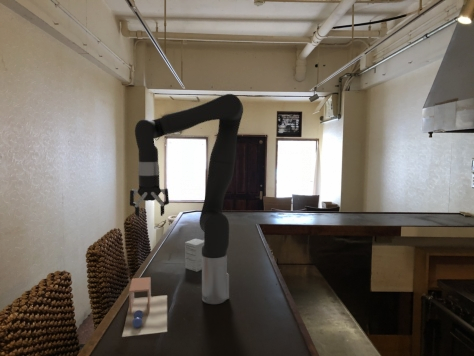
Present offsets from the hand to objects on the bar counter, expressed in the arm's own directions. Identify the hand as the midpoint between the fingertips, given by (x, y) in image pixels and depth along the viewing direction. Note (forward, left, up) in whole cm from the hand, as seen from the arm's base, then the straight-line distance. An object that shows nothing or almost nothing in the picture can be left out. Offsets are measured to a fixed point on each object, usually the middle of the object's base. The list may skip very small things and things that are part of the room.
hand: (150, 216), depth 123 cm
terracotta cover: (+7, +10, -29) cm, 32 cm away
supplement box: (-25, -13, -30) cm, 41 cm away
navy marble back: (+10, +19, -28) cm, 35 cm away
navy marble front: (+12, +23, -28) cm, 38 cm away
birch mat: (+7, +17, -30) cm, 35 cm away
